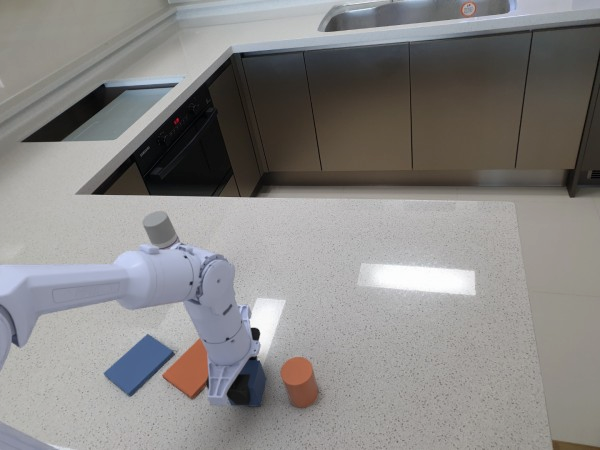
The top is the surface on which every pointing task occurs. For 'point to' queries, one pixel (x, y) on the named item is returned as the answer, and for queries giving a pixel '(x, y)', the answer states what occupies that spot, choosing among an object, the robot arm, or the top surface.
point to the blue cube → (254, 382)
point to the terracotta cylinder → (299, 381)
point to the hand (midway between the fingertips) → (246, 386)
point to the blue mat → (138, 364)
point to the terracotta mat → (190, 370)
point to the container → (160, 230)
